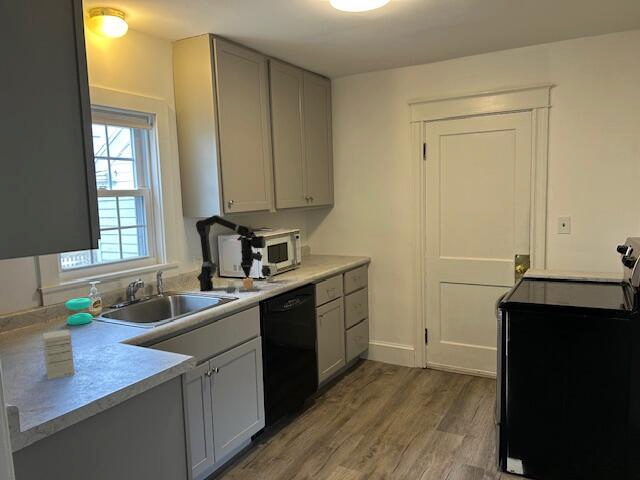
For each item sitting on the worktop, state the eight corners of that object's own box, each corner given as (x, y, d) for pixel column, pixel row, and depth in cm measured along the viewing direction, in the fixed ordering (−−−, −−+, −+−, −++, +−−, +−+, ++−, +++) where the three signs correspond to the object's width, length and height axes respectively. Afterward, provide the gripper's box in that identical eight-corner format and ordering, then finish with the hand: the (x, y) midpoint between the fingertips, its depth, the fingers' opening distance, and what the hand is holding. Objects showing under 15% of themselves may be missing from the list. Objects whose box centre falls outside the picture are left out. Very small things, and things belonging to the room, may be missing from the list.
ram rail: (226, 293, 258) (226, 287, 257) (229, 288, 271) (228, 283, 271) (232, 292, 258) (232, 287, 258) (234, 287, 272) (234, 282, 271)
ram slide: (228, 287, 268) (227, 281, 267) (228, 286, 271) (228, 280, 271) (234, 286, 268) (233, 280, 268) (234, 285, 271) (234, 279, 271)
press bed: (238, 292, 258) (238, 290, 258) (239, 289, 266) (239, 287, 266) (257, 291, 259) (257, 289, 259) (257, 288, 267) (257, 286, 267)
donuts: (69, 303, 199) (62, 300, 206) (71, 327, 200) (64, 323, 207) (94, 299, 206) (86, 296, 213) (96, 322, 207) (88, 318, 214)
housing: (243, 289, 260) (243, 278, 259) (244, 287, 265) (243, 277, 264) (252, 288, 260) (252, 278, 260) (253, 287, 265) (252, 276, 265)
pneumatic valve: (261, 284, 280) (260, 263, 279) (271, 280, 291) (270, 261, 290) (269, 284, 278) (268, 264, 277) (279, 280, 289) (278, 261, 288)
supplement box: (46, 373, 146) (42, 333, 145) (73, 367, 150) (69, 328, 149) (46, 380, 140) (42, 338, 139) (74, 375, 144) (71, 334, 142)
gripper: (260, 249, 252) (262, 278, 253) (261, 245, 270) (263, 273, 272) (239, 250, 251) (241, 279, 252) (242, 246, 269) (243, 274, 271)
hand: (248, 276), depth 262 cm, fingers open, 9 cm apart
